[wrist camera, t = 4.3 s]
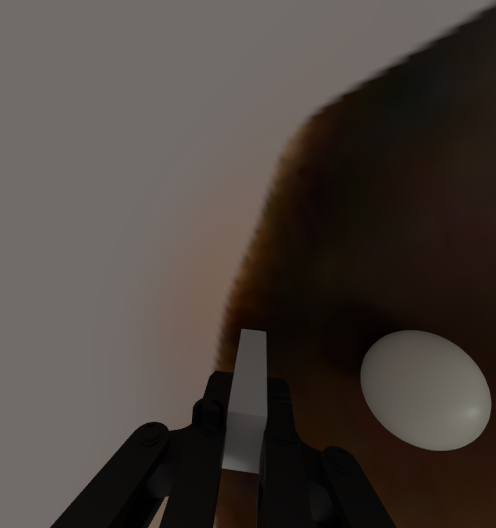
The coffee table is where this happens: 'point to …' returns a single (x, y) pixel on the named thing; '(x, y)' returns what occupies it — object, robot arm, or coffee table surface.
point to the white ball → (425, 390)
